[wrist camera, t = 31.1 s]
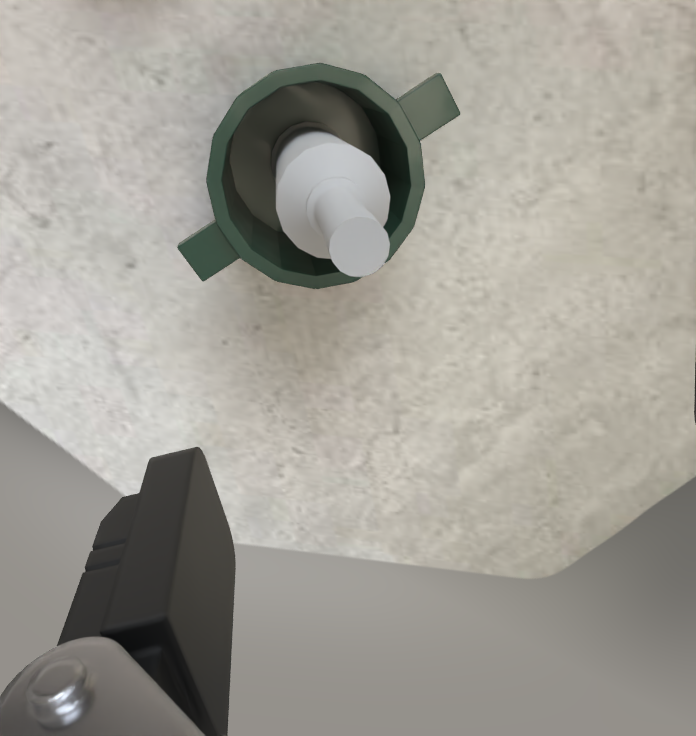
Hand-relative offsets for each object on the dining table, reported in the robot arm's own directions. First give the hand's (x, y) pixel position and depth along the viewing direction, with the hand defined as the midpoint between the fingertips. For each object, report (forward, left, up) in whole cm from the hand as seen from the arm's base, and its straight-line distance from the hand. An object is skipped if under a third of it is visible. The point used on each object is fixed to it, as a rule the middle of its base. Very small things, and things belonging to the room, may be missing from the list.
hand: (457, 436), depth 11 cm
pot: (0, 0, -38) cm, 38 cm away
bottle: (0, 0, -38) cm, 38 cm away
